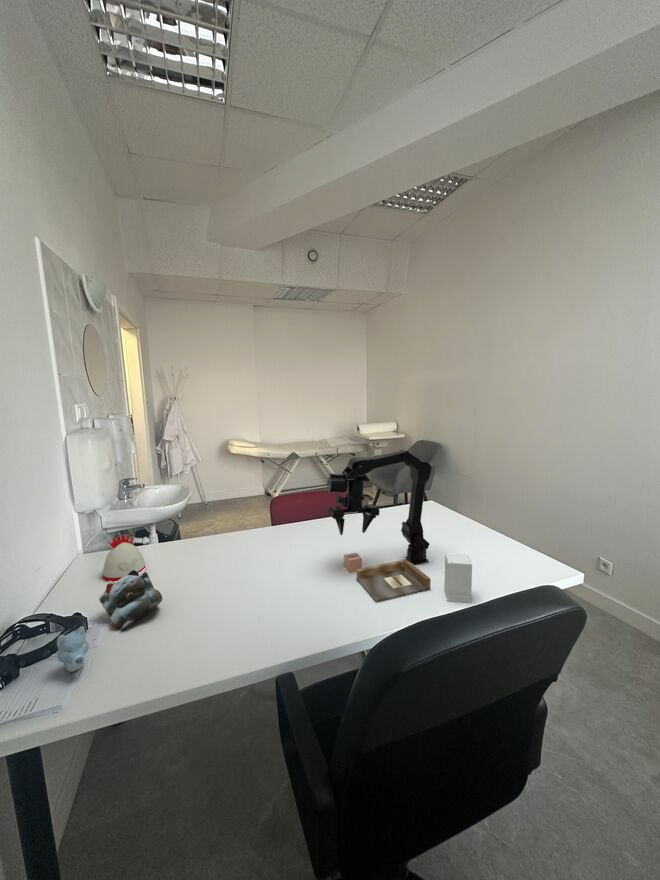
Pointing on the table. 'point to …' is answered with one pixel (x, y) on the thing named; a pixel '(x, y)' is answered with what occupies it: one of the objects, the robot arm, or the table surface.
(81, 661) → the wolf head
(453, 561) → the supplement box
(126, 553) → the kitchen timer
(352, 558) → the terracotta block
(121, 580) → the lucky cat figurine
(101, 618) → the table surface
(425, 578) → the arena
